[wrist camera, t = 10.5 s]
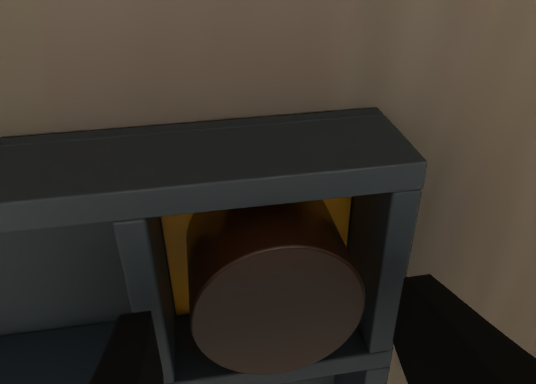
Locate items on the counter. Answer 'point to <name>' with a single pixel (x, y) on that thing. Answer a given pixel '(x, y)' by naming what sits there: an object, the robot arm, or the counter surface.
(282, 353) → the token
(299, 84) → the counter surface
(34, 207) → the grid
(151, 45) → the counter surface
